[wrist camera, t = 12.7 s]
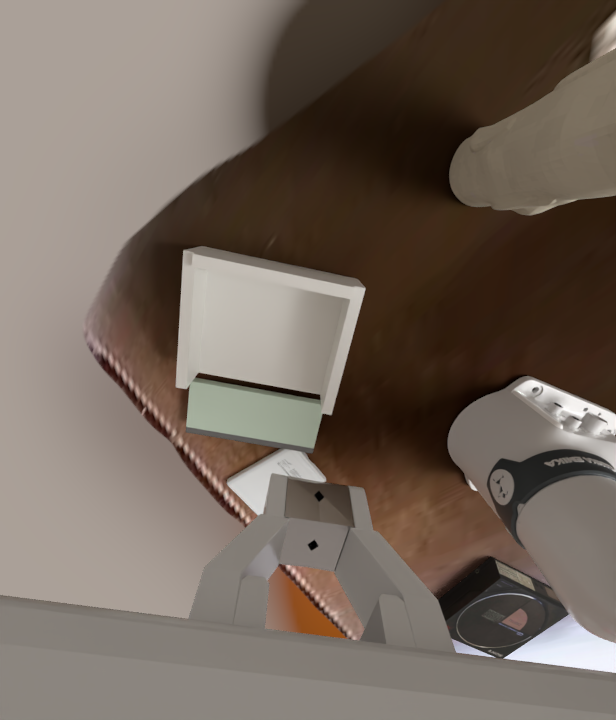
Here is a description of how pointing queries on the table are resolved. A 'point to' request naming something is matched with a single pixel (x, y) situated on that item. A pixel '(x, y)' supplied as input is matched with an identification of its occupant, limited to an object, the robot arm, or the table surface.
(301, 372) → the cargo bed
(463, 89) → the table surface
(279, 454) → the external hard drive
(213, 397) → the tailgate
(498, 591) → the portable cd player
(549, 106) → the cream statue
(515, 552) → the table surface
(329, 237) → the table surface
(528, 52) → the table surface
